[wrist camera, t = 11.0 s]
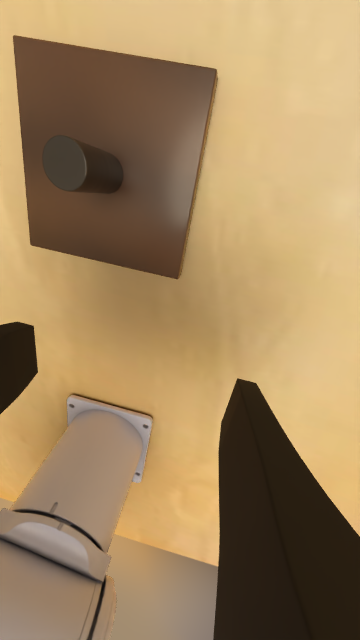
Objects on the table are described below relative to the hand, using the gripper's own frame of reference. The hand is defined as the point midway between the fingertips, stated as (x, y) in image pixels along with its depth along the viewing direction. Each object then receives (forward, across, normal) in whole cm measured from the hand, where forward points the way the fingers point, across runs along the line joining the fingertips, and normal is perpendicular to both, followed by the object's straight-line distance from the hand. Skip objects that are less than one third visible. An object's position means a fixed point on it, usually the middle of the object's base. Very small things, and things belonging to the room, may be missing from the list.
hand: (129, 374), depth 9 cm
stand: (+9, +5, -6) cm, 12 cm away
